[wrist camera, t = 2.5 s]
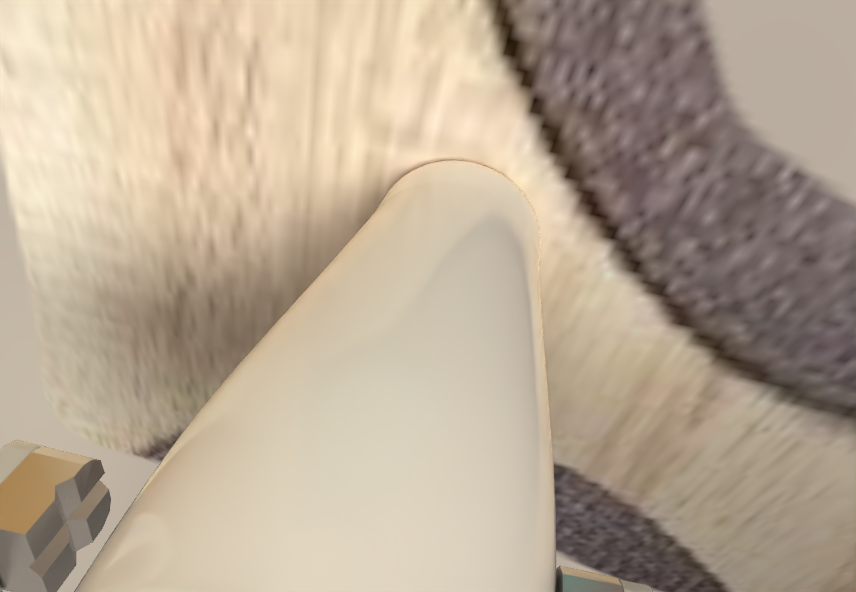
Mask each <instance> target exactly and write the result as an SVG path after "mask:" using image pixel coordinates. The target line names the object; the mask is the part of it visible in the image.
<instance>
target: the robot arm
mask: <svg viewBox="0 0 856 592" xmlns="http://www.w3.org/2000/svg"><path fill="white" fill-rule="evenodd" d="M104 473H105V472H104V469H103V466H102V463H101V460H97V459H93V458H89V457H85V456H81V455H77V454H72V453H68V452H64V451H60V450H56V449H52V448H48V447H45V446H41V445H37V444H32V443H28V442H24V441H19V440H15V441H13V442H11V443H9V444H7V445H5V446H3V448H1V450H0V592H3V591H2V590H6V591H11V592H57V591H58V589H59V588H60V587H61V585H62V584H63V582H64V581H65V580H66V578H67V577H68V576H69V574H70V573H71V571H72V570H73V569H74V567H75V566H76V551H78V550H80V549H81V548H83V547H85V546H87V545H88V544H90V543H92V542H93V541H94V540H95V538H96V537H97V535H98V534H99V532H100V531H101V530H102V528H103V526H104V524H105V521H106V519H107V516H108V514H109V511H110V502H111V497H110V493H109V489H108V488H107V487H106V486H105V485H104V484H103V483H102V482H101V481H100V480H99V479H100V478H101V477H102V475H103V474H104ZM556 592H653V591H652V589H651V587H649V586H648V585H643V584H638V583H634V582H629V581H624V580H619V579H618V578H615V577H611V576H606V575H601V574H596V573H592V572H587V571H582V570H577V569H573V568H568V567H563V566H559V567H558V568H557V569H556Z"/></svg>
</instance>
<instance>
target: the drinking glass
mask: <svg viewBox="0 0 856 592" xmlns="http://www.w3.org/2000/svg"><path fill="white" fill-rule="evenodd" d="M540 254H541V234H540V228H539V224H538V220H537V217H536V214H535V212H534V210H533V208H532V206H531V204H530V203H529V201H528V199H527V198H526V196H525V195H524V194H523V193H522V191H521V190H520V189H519V188H518V187H517V186H516V185H515V184H514V183H513V182H511V181H510V180H509V179H508V178H506V177H505V176H503V175H502V174H500V173H499V172H497V171H495V170H493V169H491V168H488V167H486V166H483V165H480V164H477V163H473V162H467V161H457V160H449V161H439V162H434V163H430V164H427V165H424V166H421V167H419V168H417V169H415V170H413V171H411V172H410V173H408V174H406V175H405V176H404V177H402V178H401V179H400V180H399V181H398V182H396V183H395V184H394V185H393V186H392V188H391V189H390V190H389V191H388V192H387V194H386V195H385V197H384V198H383V200H382V201H381V203H380V204H379V206H378V208H377V209H376V211H375V212H374V214H373V215H372V216H371V217H370V218H369V219H368V221H367V222H366V223H365V224H364V225H363V226H362V227H361V229H360V230H359V231H358V232H357V233H356V234H355V235H354V237H353V238H352V239H351V240H350V241H349V242H348V243H347V244H346V246H345V247H344V248H343V249H342V250H341V251H340V252H339V253H338V255H337V256H336V257H335V258H334V259H333V260H332V261H331V262H330V263H329V265H328V266H327V267H326V268H325V269H324V270H323V271H322V272H321V274H320V275H319V276H318V277H317V278H316V279H315V280H314V281H313V282H312V284H311V285H310V286H309V287H308V288H307V289H306V290H305V291H304V292H303V293H302V295H301V296H300V297H299V298H298V299H297V300H296V301H295V302H294V303H293V304H292V306H291V307H290V308H289V309H288V310H287V311H286V312H285V313H284V314H283V315H282V317H281V318H280V319H279V320H278V321H277V322H276V323H275V324H274V325H273V327H272V328H271V329H270V330H269V331H268V332H267V333H266V334H265V335H264V336H263V338H262V339H261V340H260V341H259V342H258V343H257V344H256V345H255V346H254V348H253V349H252V350H251V351H250V352H249V353H248V354H247V356H246V357H245V358H244V359H243V360H242V361H241V362H240V363H239V365H238V366H237V367H236V368H235V369H234V370H233V371H232V373H231V374H230V375H229V376H228V377H227V379H226V380H225V381H224V382H223V383H222V385H221V386H220V387H219V388H218V389H217V391H216V392H215V393H214V394H213V395H212V397H211V398H210V399H209V400H208V401H207V403H206V404H205V405H204V406H203V408H202V409H201V410H200V411H199V413H198V414H197V415H196V417H195V418H194V419H193V420H192V422H191V423H190V424H189V425H188V427H187V428H186V429H185V431H184V432H183V433H182V435H181V436H180V437H179V439H178V440H177V441H176V443H175V444H174V445H173V447H172V448H171V449H170V451H169V452H168V453H167V455H166V456H165V457H164V459H163V460H162V462H161V463H160V464H159V466H158V467H157V469H156V470H155V472H154V473H153V474H152V476H151V477H150V478H149V480H148V481H147V483H146V484H145V485H144V487H143V488H142V490H141V491H140V493H139V494H138V496H137V497H136V498H135V500H134V501H133V503H132V504H131V506H130V507H129V508H128V510H127V511H126V513H125V514H124V516H123V517H122V519H121V520H120V522H119V524H118V525H117V526H116V528H115V529H114V531H113V532H112V534H111V535H110V537H109V538H108V540H107V542H106V543H105V545H104V546H103V548H102V549H101V551H100V552H99V554H98V555H97V557H96V558H95V560H94V562H93V563H92V565H91V566H90V568H89V569H88V571H87V572H86V574H85V576H84V577H83V579H82V580H81V582H80V583H79V585H78V586H77V588H76V589H75V591H74V592H556V509H555V484H554V468H553V453H552V439H551V426H550V414H549V401H548V388H547V376H546V363H545V350H544V336H543V322H542V307H541V292H540V275H539V265H540Z"/></svg>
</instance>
